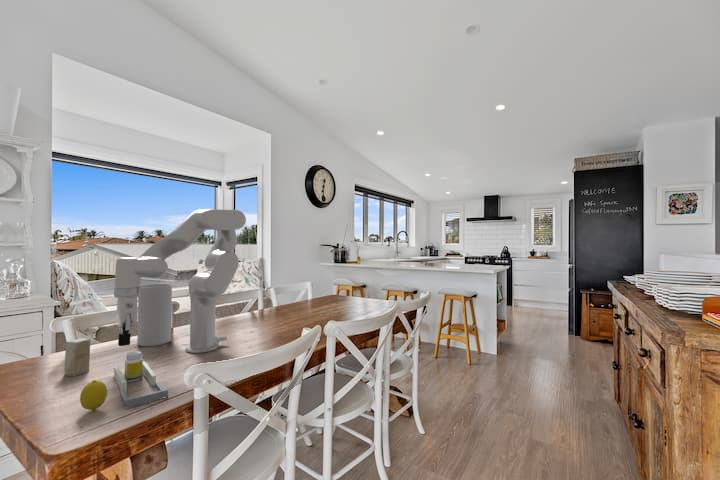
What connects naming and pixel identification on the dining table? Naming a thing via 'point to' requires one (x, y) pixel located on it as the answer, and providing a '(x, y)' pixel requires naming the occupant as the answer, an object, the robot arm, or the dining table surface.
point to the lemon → (93, 395)
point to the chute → (145, 370)
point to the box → (77, 356)
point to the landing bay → (144, 396)
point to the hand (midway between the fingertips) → (124, 345)
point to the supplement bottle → (133, 366)
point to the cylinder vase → (154, 314)
